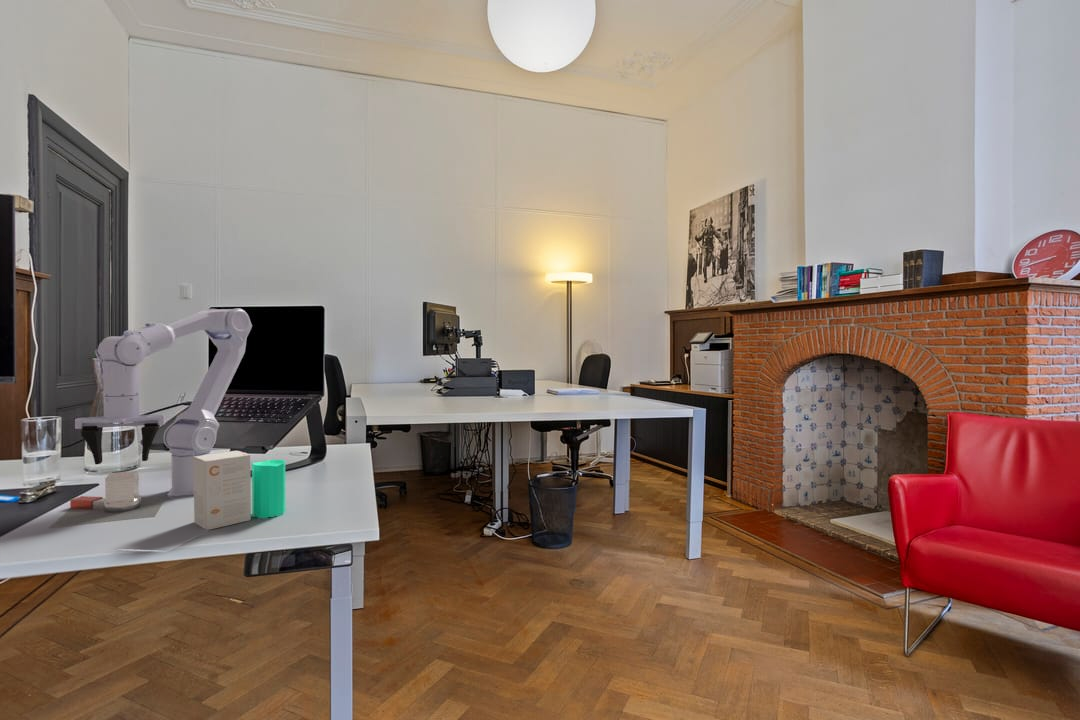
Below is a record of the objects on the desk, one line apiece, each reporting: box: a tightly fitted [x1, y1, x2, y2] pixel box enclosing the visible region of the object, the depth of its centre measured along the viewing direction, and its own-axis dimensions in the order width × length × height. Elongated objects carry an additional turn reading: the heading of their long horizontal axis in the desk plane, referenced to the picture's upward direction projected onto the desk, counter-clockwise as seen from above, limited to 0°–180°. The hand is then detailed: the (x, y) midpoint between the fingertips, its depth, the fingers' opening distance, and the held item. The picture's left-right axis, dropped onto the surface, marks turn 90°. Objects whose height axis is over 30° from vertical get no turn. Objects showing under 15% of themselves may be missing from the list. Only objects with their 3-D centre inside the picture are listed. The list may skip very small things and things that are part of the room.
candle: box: [251, 459, 286, 519], centre depth 111 cm, size 6×6×12 cm
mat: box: [48, 495, 168, 529], centre depth 111 cm, size 16×16×1 cm
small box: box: [193, 450, 252, 531], centre depth 105 cm, size 8×6×13 cm
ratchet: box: [69, 495, 142, 513], centre depth 112 cm, size 13×6×5 cm, turn 87°
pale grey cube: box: [104, 470, 140, 503], centre depth 112 cm, size 5×5×5 cm
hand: (122, 461), depth 112 cm, fingers open, 7 cm apart
